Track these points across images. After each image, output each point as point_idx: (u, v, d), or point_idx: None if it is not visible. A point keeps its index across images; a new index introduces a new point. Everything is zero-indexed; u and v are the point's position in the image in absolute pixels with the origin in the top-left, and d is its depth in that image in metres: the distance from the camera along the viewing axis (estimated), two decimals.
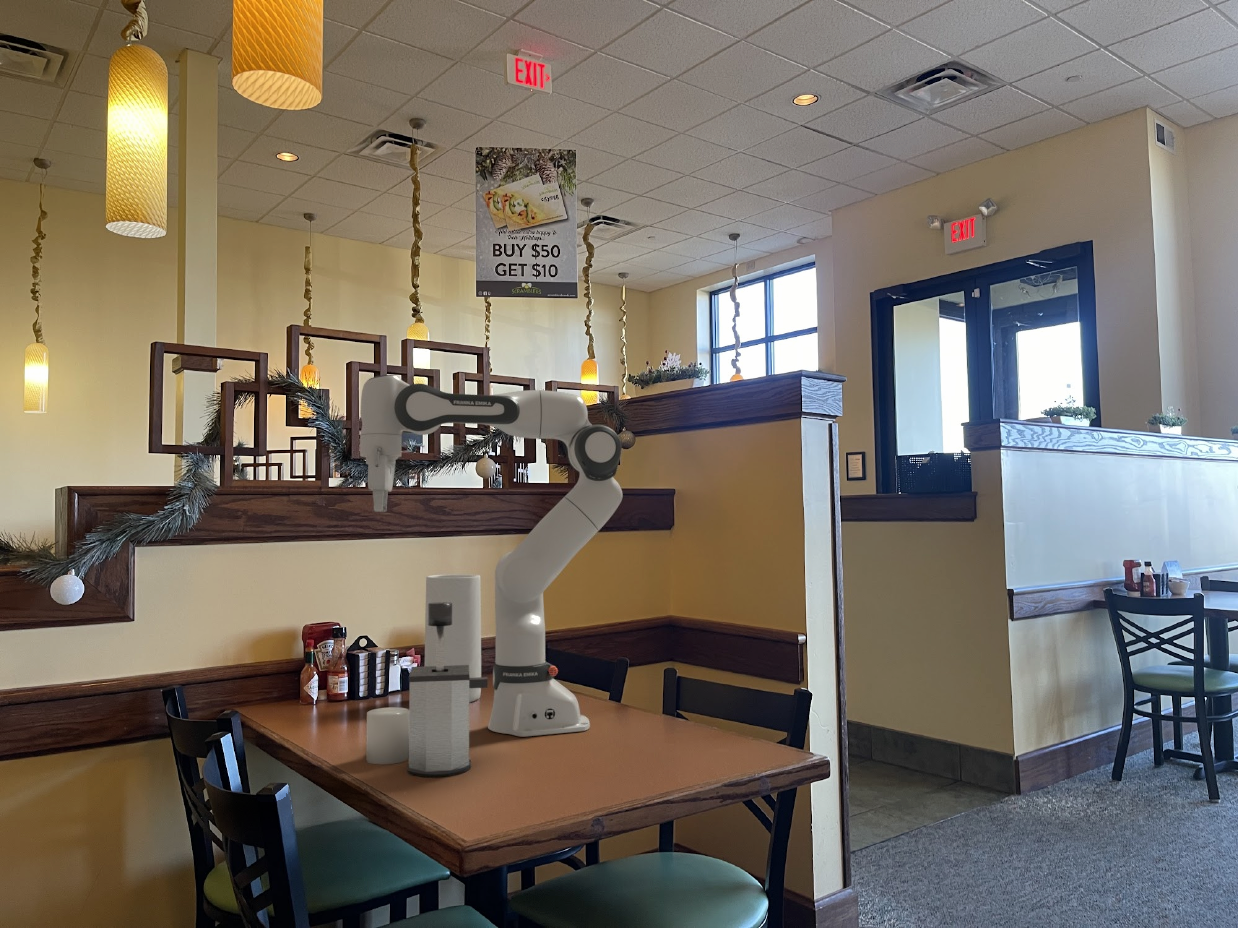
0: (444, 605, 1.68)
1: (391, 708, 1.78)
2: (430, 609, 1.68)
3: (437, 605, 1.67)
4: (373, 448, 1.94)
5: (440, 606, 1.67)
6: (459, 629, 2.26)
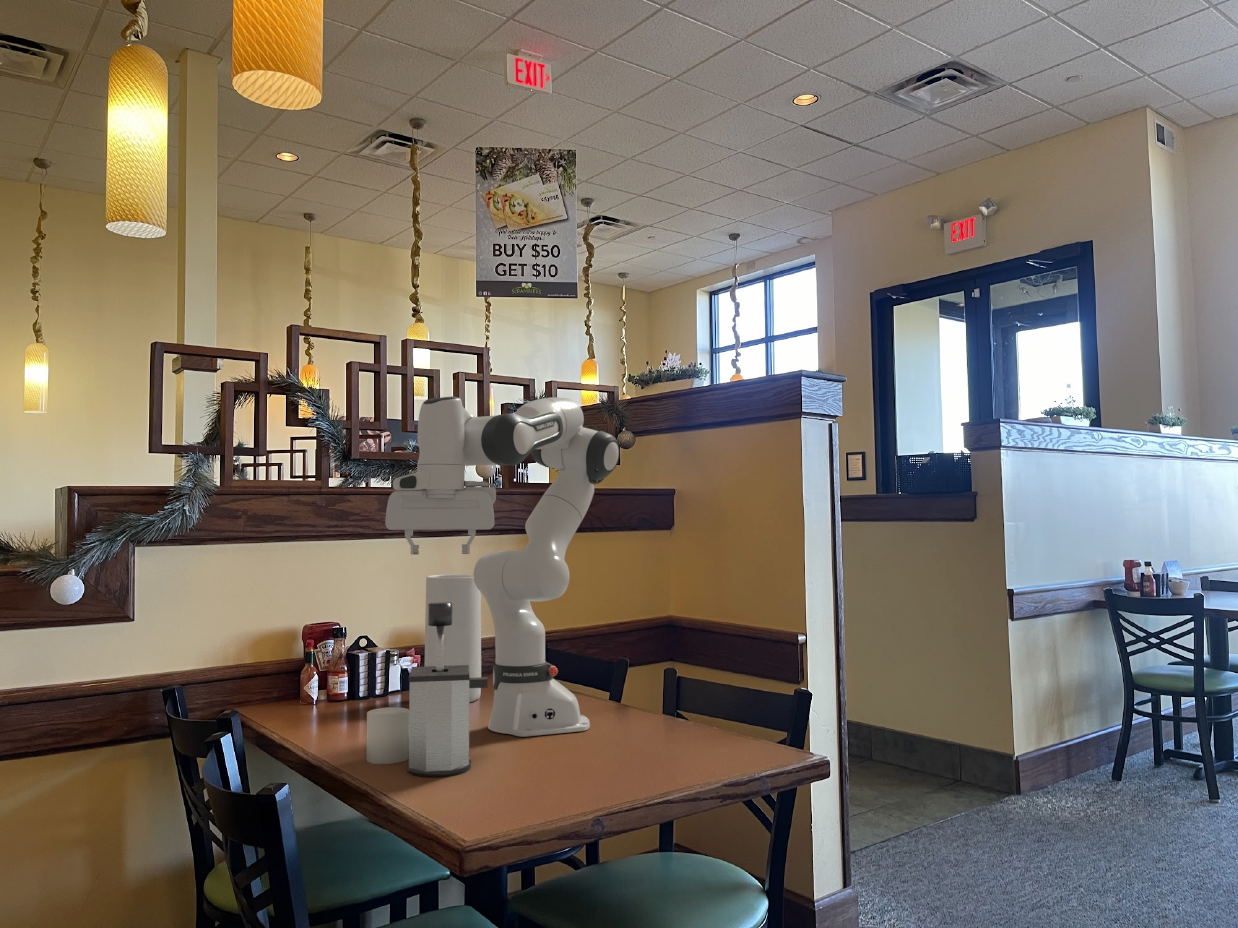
0: (444, 605, 1.68)
1: (391, 708, 1.78)
2: (430, 609, 1.68)
3: (437, 605, 1.67)
4: (463, 481, 1.70)
5: (440, 606, 1.67)
6: (459, 629, 2.26)
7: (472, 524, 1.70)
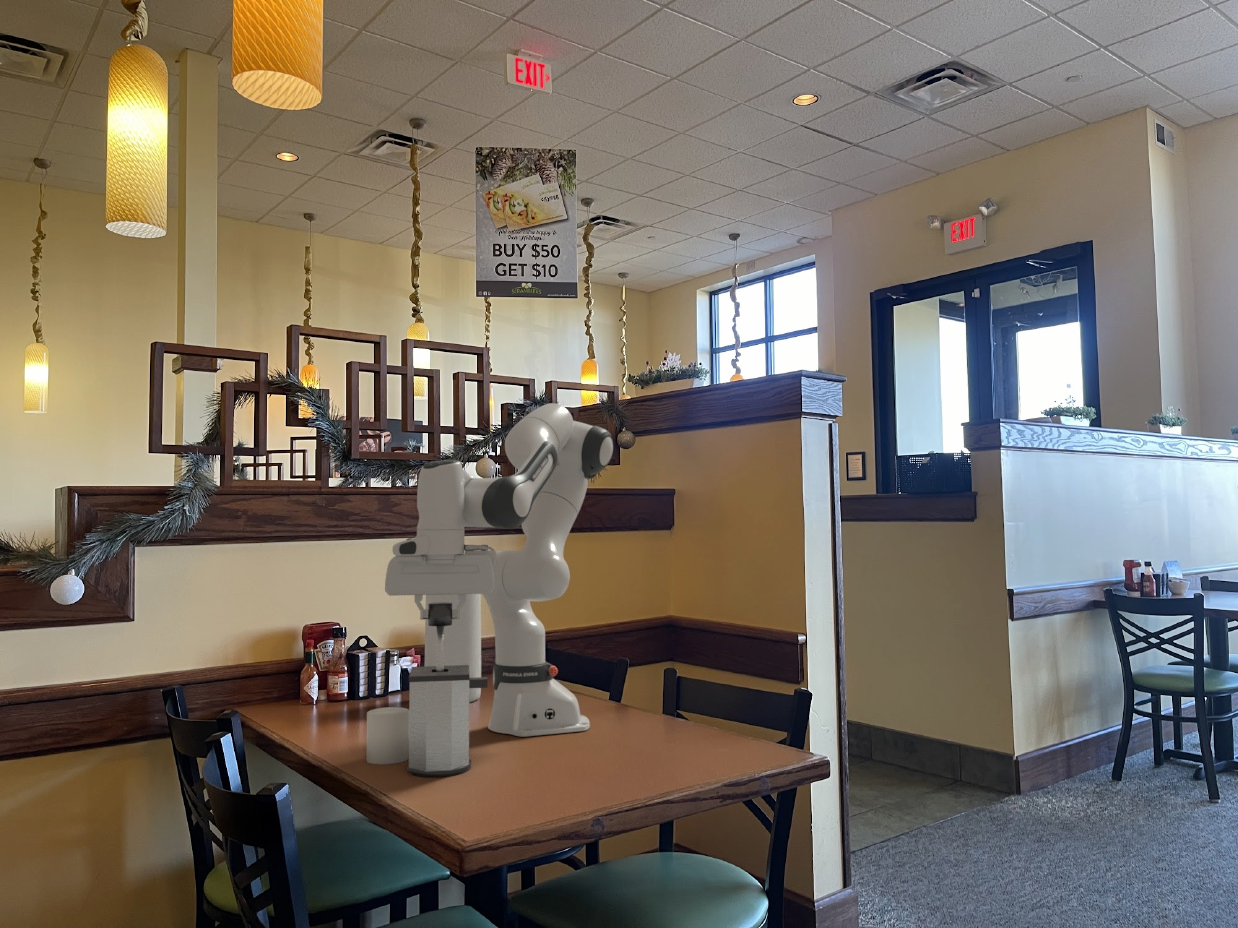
0: (444, 605, 1.68)
1: (391, 708, 1.78)
2: (430, 610, 1.68)
3: (437, 605, 1.67)
4: (463, 546, 1.70)
5: (440, 606, 1.67)
6: (459, 629, 2.26)
7: (472, 589, 1.69)
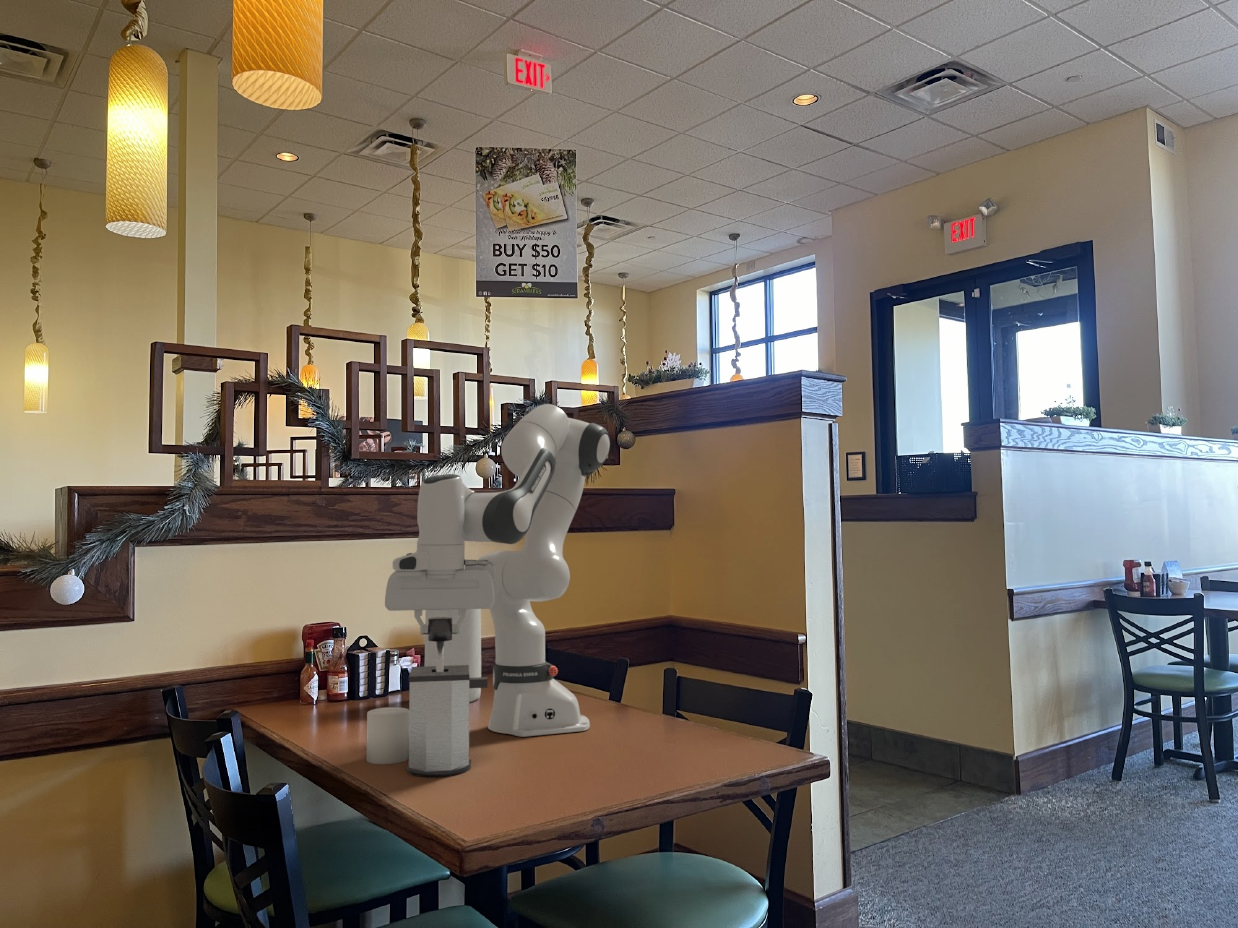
0: (444, 620, 1.67)
1: (391, 708, 1.78)
2: (430, 625, 1.68)
3: (437, 620, 1.67)
4: (463, 561, 1.69)
5: (440, 621, 1.67)
6: None
7: (472, 604, 1.69)
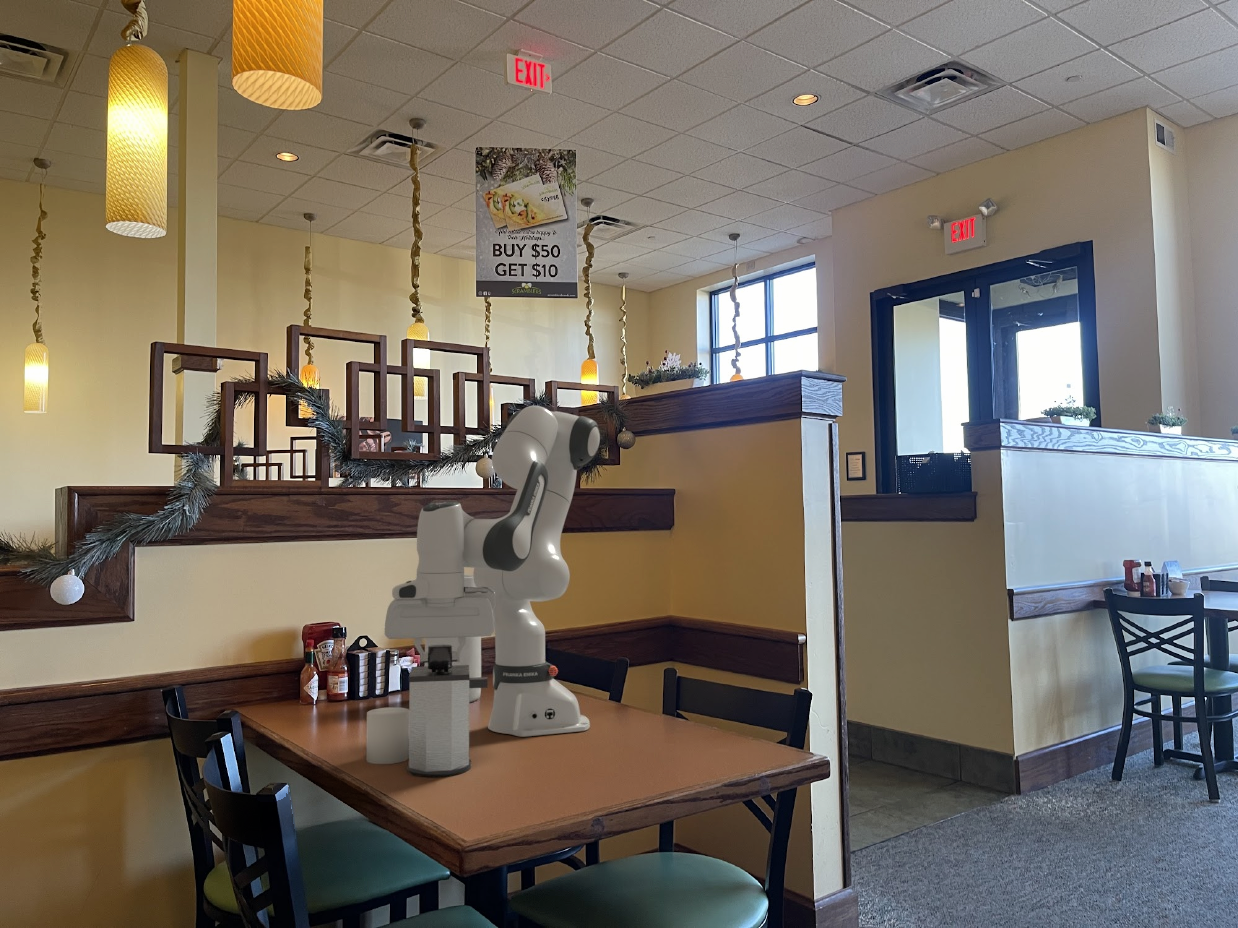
0: (444, 648, 1.67)
1: (391, 708, 1.78)
2: (429, 653, 1.67)
3: (437, 648, 1.67)
4: (463, 588, 1.69)
5: (440, 649, 1.67)
6: None
7: (472, 632, 1.68)
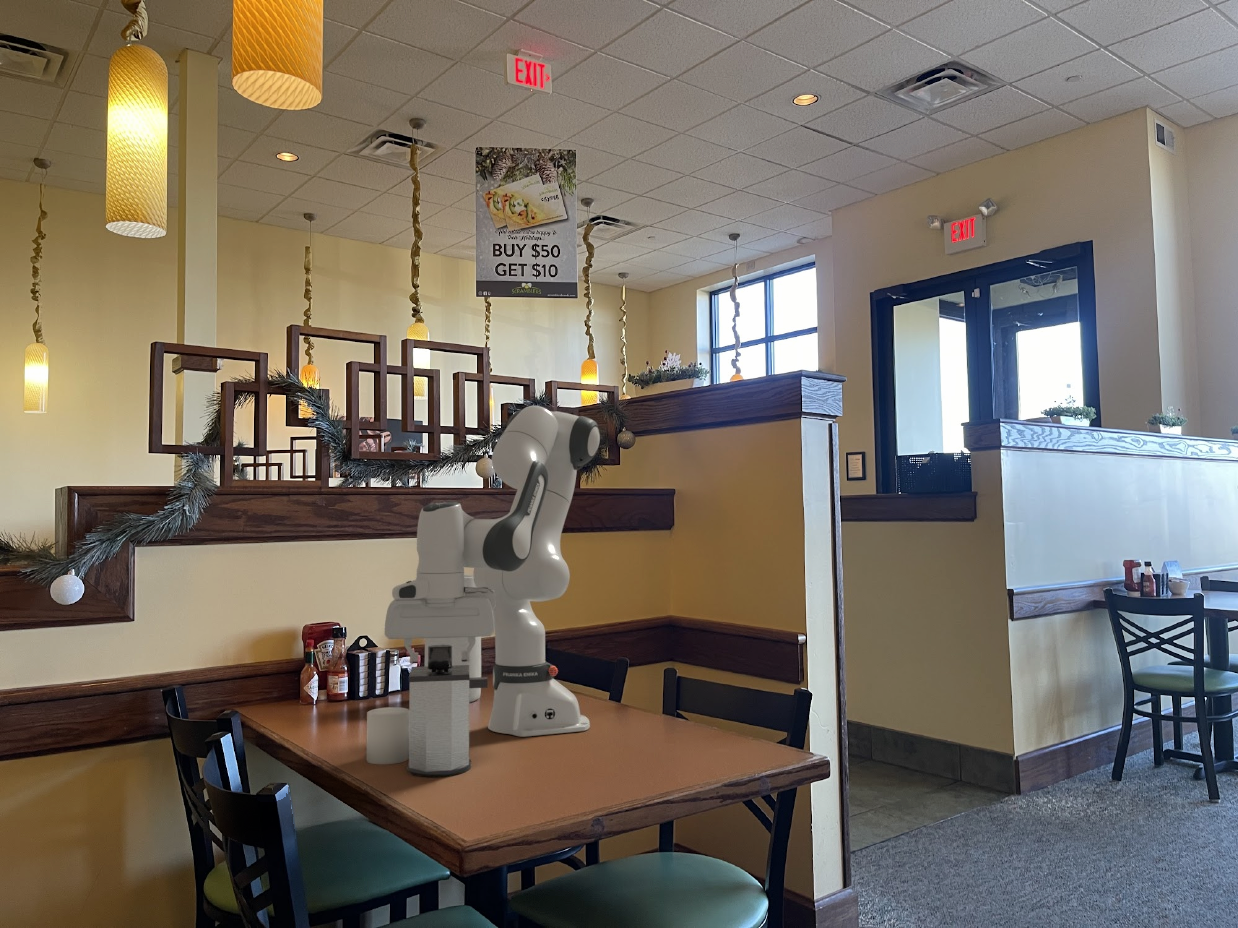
0: (444, 648, 1.67)
1: (391, 708, 1.78)
2: (430, 653, 1.67)
3: (437, 649, 1.67)
4: (463, 588, 1.69)
5: (440, 650, 1.67)
6: None
7: (472, 632, 1.68)
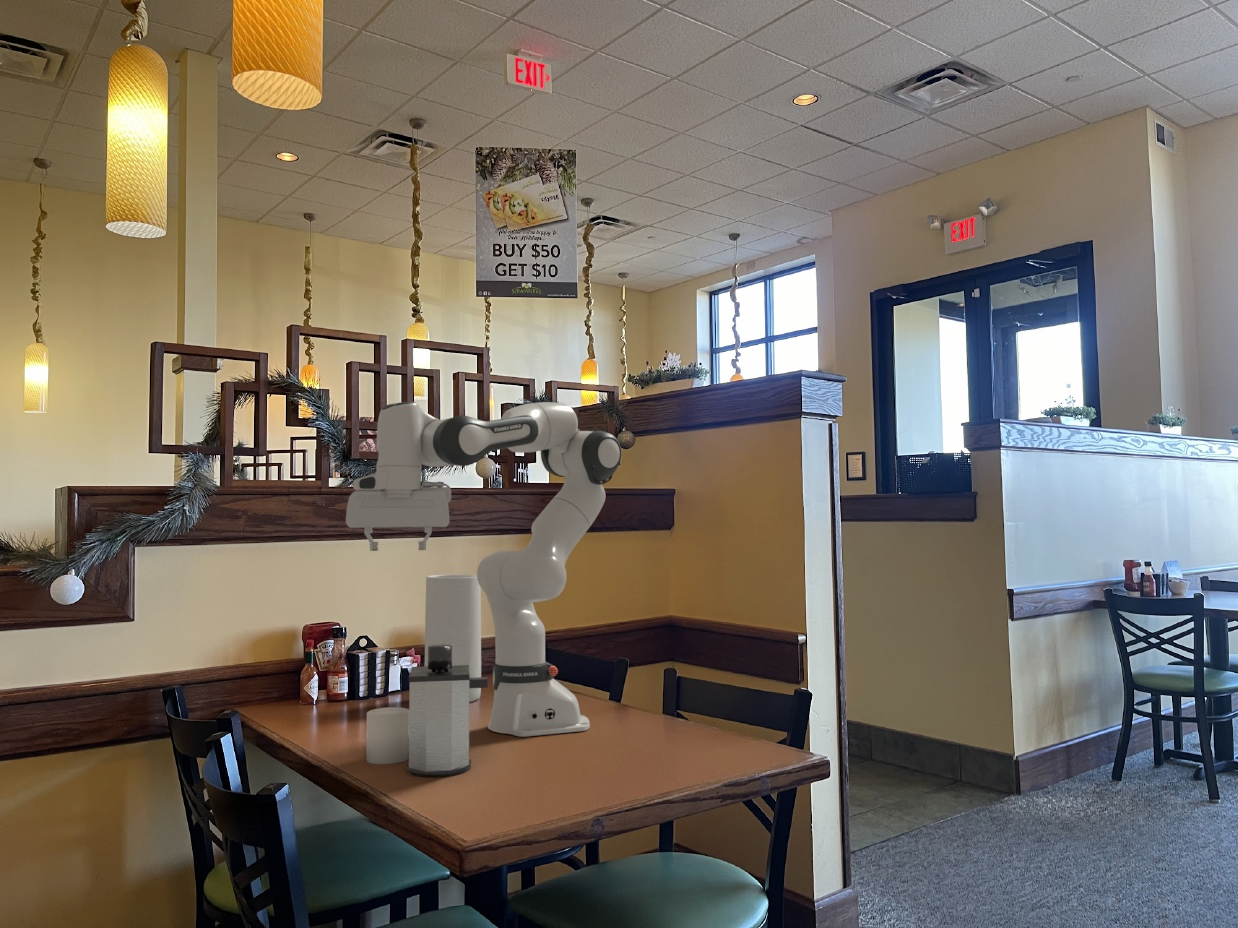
0: (444, 648, 1.67)
1: (390, 708, 1.78)
2: (430, 653, 1.67)
3: (437, 649, 1.67)
4: (420, 482, 1.81)
5: (440, 650, 1.67)
6: (459, 629, 2.26)
7: (428, 522, 1.80)
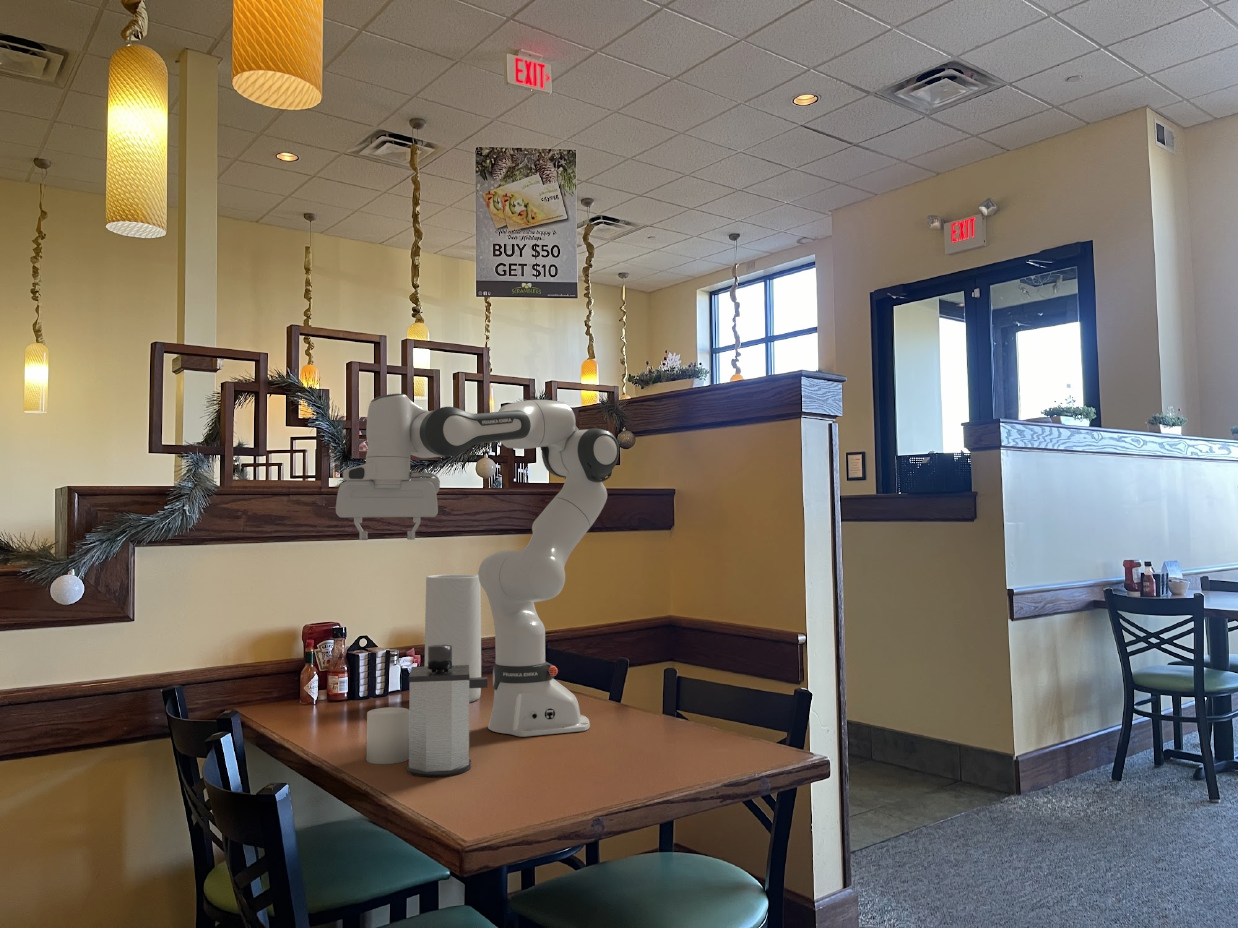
0: (444, 648, 1.67)
1: (391, 708, 1.78)
2: (430, 653, 1.67)
3: (437, 649, 1.67)
4: (408, 473, 1.84)
5: (440, 650, 1.67)
6: (459, 629, 2.26)
7: (417, 512, 1.83)
